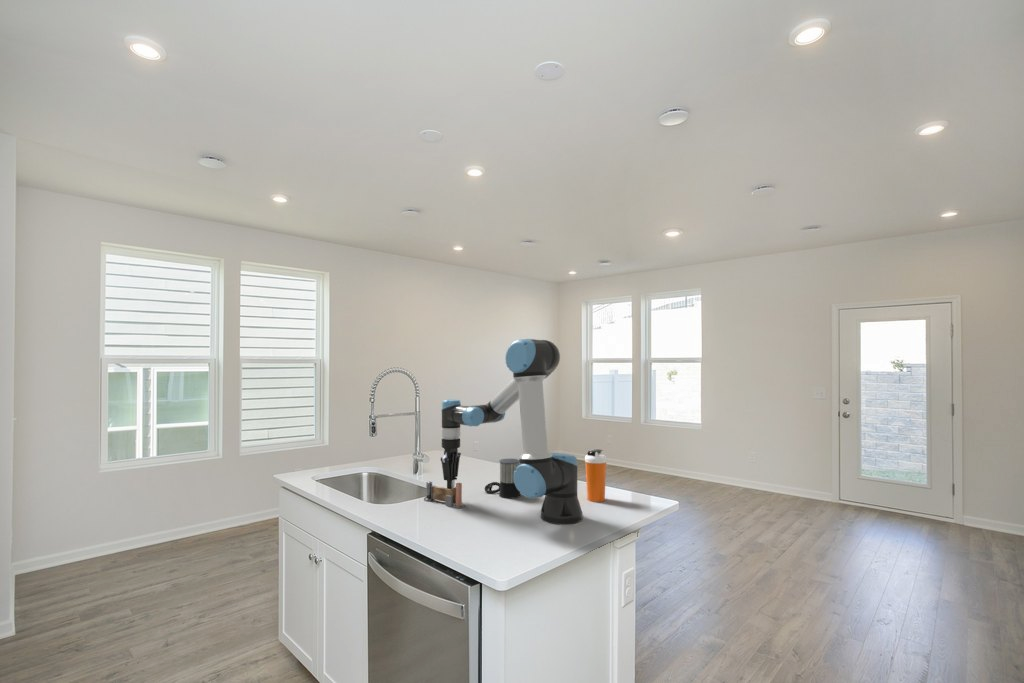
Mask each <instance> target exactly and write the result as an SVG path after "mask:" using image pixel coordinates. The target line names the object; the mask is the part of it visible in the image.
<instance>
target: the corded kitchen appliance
mask: <svg viewBox="0 0 1024 683" xmlns="http://www.w3.org/2000/svg"><path fill="white" fill-rule="evenodd" d="M498 462H499V482H498V481H493V482H490V483H487V484H486V485H485V486H484V491H485V492H486V493H488V494H495V493H499V497H501V498H504V499H516V498H519V497H521V496H522V494H521V493H520V491H518V489H517V488H516V486H515V483H514V471H515V470H516V468H517V467H518V466H519V465H520V463H519V458H502V459H499V461H498ZM493 486H497V487H498V488H497V489H494V490H492V489H493Z"/></svg>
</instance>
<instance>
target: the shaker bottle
mask: <svg viewBox="0 0 1024 683" xmlns="http://www.w3.org/2000/svg"><path fill="white" fill-rule="evenodd" d="M603 451H604V450H603V449H593V450H587V452H586V453H587V454H586V455H585V456H584V462H585V475H586V476H585V477H586V481H585V482H586V495H587V496H586V497H587V499H586V500H588V501H589V502H593V503H601V502H604V501H605V499H606V479H607V478H606V474H607V462H608V461H607V460H608V458H607V456H606V455H605V454H604V453H602V452H603Z"/></svg>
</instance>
